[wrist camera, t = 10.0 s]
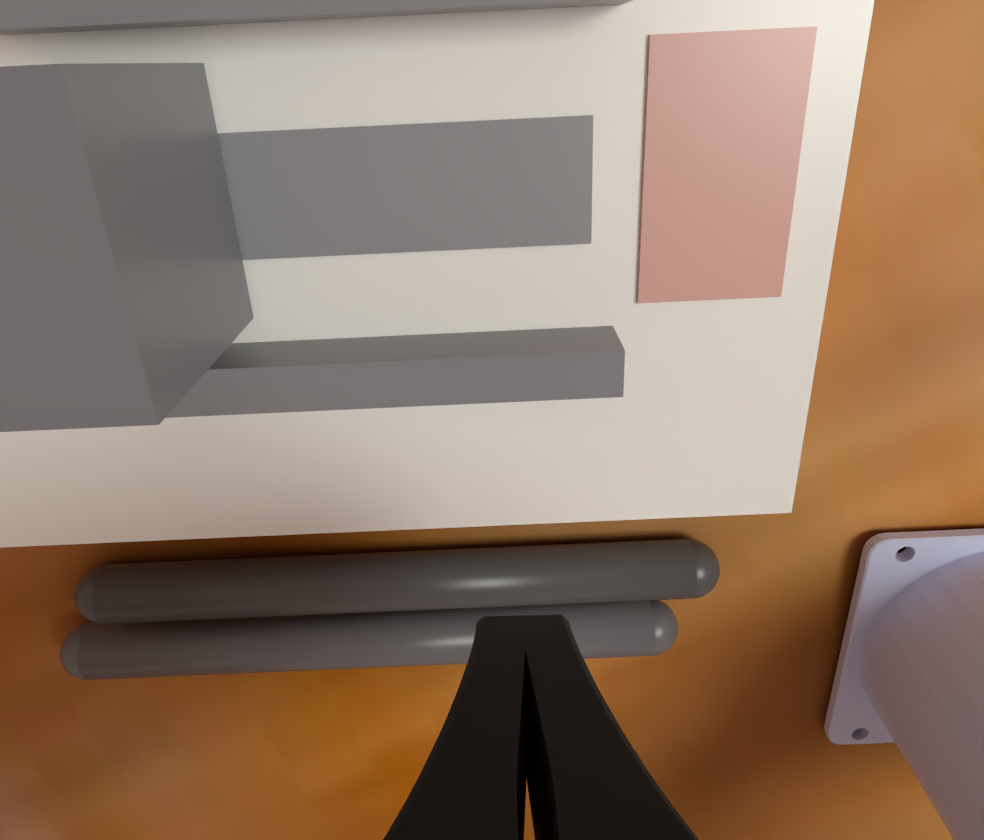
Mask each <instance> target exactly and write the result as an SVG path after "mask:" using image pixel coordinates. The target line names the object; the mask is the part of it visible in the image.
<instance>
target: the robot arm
mask: <svg viewBox="0 0 984 840" xmlns="http://www.w3.org/2000/svg"><path fill="white" fill-rule="evenodd" d="M903 547H906V549H905V550H904V551H902V552H900V553H897V551H898V550H899V549H901V548H903ZM824 731H825V733H826V735H827V737H828V739H829V740H830V741H831V742H832V743H834V744H840V745H847V744H872V743H896V745H897V747H898V748H899V750H900V752H901V753H902V755H903V757H904V758H905V760H906V762H907V763H908V765H909V767H910V768H911V770H912V772H913V773H914V775H915V776H916V778H917V780H918V781H919V783H920V785H921V786H922V788H923V790H924V791H925V793H926V795H927V796H928V798H929V800H930V801H931V803H932V804H933V806H934V808H935V809H936V811H937V813H938V814H939V816H940V818H941V819H942V821H943V823H944V824H945V826H946V828H947V829H948V831H949V833H950V834H951V836H952V837H953V839H954V840H984V528H983V529H960V530H937V531H914V532H892V533H881V534H877V535H875V536H873V537H871V538H870V539H869V540H868V541H867V542H866V543H865V545H864V547H863V550H862V555H861V559H860V564H859V569H858V573H857V578H856V582H855V587H854V591H853V596H852V601H851V605H850V610H849V614H848V619H847V624H846V628H845V633H844V637H843V642H842V646H841V651H840V656H839V660H838V665H837V669H836V674H835V678H834V683H833V688H832V692H831V697H830V701H829V706H828V710H827V715H826V720H825V724H824ZM526 777H527V784H528V792H529V799H530V806H531V813H532V821H533V828H534V835H535V840H698V838H697V837H696V836H695V835H694V833H693V832H692V831H691V829H690V828H689V827H688V825H687V824H686V823H685V822H684V820H683V819H682V818H681V816H680V815H679V814H678V812H677V811H676V810H675V808H674V807H673V806H672V804H671V803H670V802H669V800H668V799H667V797H666V796H665V795H664V793H663V792H662V790H661V789H660V788H659V786H658V785H657V783H656V782H655V780H654V779H653V778H652V776H651V775H650V773H649V772H648V770H647V769H646V767H645V766H644V764H643V763H642V761H641V759H640V758H639V756H638V755H637V753H636V752H635V750H634V749H633V747H632V746H631V744H630V742H629V741H628V739H627V738H626V736H625V734H624V733H623V731H622V730H621V728H620V726H619V724H618V723H617V721H616V719H615V717H614V716H613V714H612V712H611V710H610V709H609V707H608V705H607V703H606V702H605V700H604V698H603V697H602V695H601V693H600V691H599V689H598V687H597V685H596V683H595V682H594V680H593V678H592V676H591V673H590V671H589V669H588V667H587V665H586V663H585V661H584V659H583V657H582V655H581V652H580V650H579V648H578V646H577V643H576V641H575V638H574V636H573V633H572V630H571V627H570V624H569V621H568V620H567V619H566V618H565V617H564V616H563V615H518V616H484V617H482V618H481V619H480V620H479V621H478V622H477V623H476V631H475V636H474V641H473V645H472V649H471V653H470V656H469V659H468V663H467V666H466V669H465V672H464V675H463V678H462V680H461V683H460V686H459V689H458V691H457V694H456V696H455V699H454V701H453V704H452V706H451V708H450V711H449V713H448V716H447V718H446V721H445V723H444V726H443V728H442V730H441V732H440V734H439V736H438V739H437V741H436V743H435V745H434V747H433V749H432V751H431V753H430V755H429V757H428V759H427V761H426V763H425V766H424V768H423V770H422V772H421V774H420V776H419V778H418V780H417V781H416V783H415V785H414V787H413V789H412V791H411V793H410V795H409V796H408V798H407V800H406V802H405V804H404V805H403V807H402V809H401V811H400V812H399V814H398V816H397V818H396V819H395V821H394V823H393V824H392V826H391V828H390V829H389V831H388V833H387V835H386V836H385V838H384V839H383V840H524V820H525V797H526Z"/></svg>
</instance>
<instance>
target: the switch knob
mask: <svg viewBox="0 0 984 840" xmlns="http://www.w3.org/2000/svg"><path fill="white" fill-rule="evenodd" d="M253 318H254V317H253V312H252V307H251V302H250V297H249V292H248V286H247V281H246V276H245V271H244V266H243V261H242V256H241V251H240V246H239V240H238V235H237V230H236V225H235V220H234V215H233V210H232V205H231V200H230V194H229V189H228V184H227V179H226V174H225V169H224V164H223V159H222V154H221V148H220V143H219V138H218V133H217V128H216V123H215V118H214V113H213V108H212V103H211V97H210V92H209V87H208V82H207V77H206V72H205V67H204V63H94V64H44V65H24V66H4V67H0V432H13V431H35V430H57V429H79V428H101V427H123V426H145V425H159V424H160V423H161V422H162V421H163V420H164V419H165V418H166V416H167V415H168V414H169V413H170V412H171V411H172V410H173V409H174V407H175V406H176V405H177V404H178V403H179V402H180V401H181V400H182V398H183V397H184V396H185V395H186V394H187V393H188V392H189V391H190V389H191V388H192V387H193V386H194V385H195V384H196V383H197V381H198V380H199V379H200V378H201V377H202V376H203V375H204V374H205V372H206V371H207V370H208V369H209V368H210V367H211V366H212V365H213V363H214V362H215V361H216V360H217V359H218V358H219V357H220V356H221V354H222V353H223V352H224V351H225V350H226V349H227V348H228V347H229V345H230V344H231V343H232V342H233V341H234V340H235V339H236V338H237V336H238V335H239V334H240V333H241V332H242V331H243V330H244V329H245V327H246V326H247V325H248V324H249V323H250V322H251V321H252V319H253Z"/></svg>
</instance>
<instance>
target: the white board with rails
mask: <svg viewBox="0 0 984 840" xmlns="http://www.w3.org/2000/svg"><path fill="white" fill-rule="evenodd" d="M873 6H874V0H0V67H4V66H24V65H44V64H94V63H204V67H205V72H206V77H207V82H208V87H209V92H210V97H211V103H212V108H213V113H214V118H215V123H216V128H217V133H218V138H219V143H220V148H221V154H222V159H223V164H224V169H225V174H226V179H227V184H228V189H229V194H230V200H231V205H232V210H233V215H234V220H235V225H236V230H237V235H238V240H239V246H240V251H241V256H242V261H243V266H244V271H245V276H246V281H247V286H248V292H249V297H250V302H251V307H252V312H253V317H254V318H253V319H252V321H251V322H250V323H249V324H248V325H247V326H246V327H245V329H244V330H243V331H242V332H241V333H240V334H239V335H238V336H237V338H236V339H235V340H234V341H233V342H232V343H231V344H230V345H229V347H228V348H227V349H226V350H225V351H224V352H223V353H222V354H221V356H220V357H219V358H218V359H217V360H216V361H215V362H214V363H213V365H212V366H211V367H210V368H209V369H208V370H207V371H206V372H205V374H204V375H203V376H202V377H201V378H200V379H199V380H198V381H197V383H196V384H195V385H194V386H193V387H192V388H191V389H190V391H189V392H188V393H187V394H186V395H185V396H184V397H183V398H182V400H181V401H180V402H179V403H178V404H177V405H176V406H175V407H174V409H173V410H172V411H171V412H170V413H169V414H168V415H167V416H166V418H165V419H164V420H163V421H162V422H161V423H160V424H159V425H145V426H123V427H101V428H79V429H57V430H35V431H13V432H0V548H1V547H24V546H47V545H70V544H92V543H115V542H138V541H160V540H183V539H206V538H228V537H251V536H274V535H296V534H319V533H342V532H364V531H387V530H410V529H432V528H455V527H478V526H501V525H523V524H546V523H569V522H591V521H614V520H637V519H659V518H682V517H705V516H727V515H750V514H773V513H791V512H792V506H793V500H794V494H795V488H796V481H797V475H798V469H799V463H800V457H801V451H802V444H803V438H804V432H805V426H806V420H807V413H808V407H809V401H810V395H811V389H812V383H813V376H814V370H815V364H816V358H817V352H818V346H819V339H820V333H821V327H822V321H823V315H824V308H825V302H826V296H827V290H828V284H829V278H830V271H831V265H832V259H833V253H834V247H835V240H836V234H837V228H838V222H839V216H840V210H841V203H842V197H843V191H844V185H845V179H846V172H847V166H848V160H849V154H850V148H851V142H852V135H853V129H854V123H855V117H856V111H857V105H858V98H859V92H860V86H861V80H862V74H863V67H864V61H865V55H866V49H867V43H868V37H869V30H870V24H871V18H872V12H873ZM719 574H720V567H719V562H718V559H717V557H716V555H715V553H714V552H713V551H712V550H711V548H710V547H708V546H707V545H706V544H704V543H702V542H700V541H698V540H694V539H672V540H649V541H626V542H603V543H580V544H558V545H535V546H512V547H489V548H466V549H444V550H421V551H398V552H375V553H352V554H330V555H307V556H284V557H261V558H238V559H216V560H193V561H170V562H147V563H124V564H107V565H101V566H98V567H96V568H94V569H92V570H90V571H89V572H87V573H86V574H85V575H84V576H83V577H82V578H81V580H80V581H79V583H78V585H77V587H76V590H75V604H76V607H77V609H78V611H79V612H80V614H81V615H82V616H83V617H85V618H86V619H88V620H89V621H92V622H88V623H85V624H82V625H80V626H78V627H77V628H75V629H74V630H72V631H71V632H70V633H69V634H68V636H67V637H66V638H65V640H64V642H63V644H62V647H61V652H60V658H61V662H62V665H63V667H64V669H65V670H66V671H67V672H68V673H69V674H71V675H72V676H74V677H76V678H79V679H85V680H95V679H118V678H141V677H165V676H188V675H212V674H235V673H259V672H282V671H306V670H329V669H353V668H376V667H400V666H423V665H447V664H467V663H468V659H469V656H470V653H471V649H472V645H473V641H474V636H475V631H476V623H477V622H478V621H479V620H480V619H481V618H482V617H484V616H518V615H563V616H564V617H565V618H566V619H567V620H568V621H569V624H570V627H571V630H572V633H573V636H574V638H575V641H576V643H577V646H578V648H579V650H580V652H581V655H582V657H583V659H588V658H611V657H635V656H654V655H659V654H661V653H663V652H665V651H667V650H668V649H669V648H670V647H671V646H672V645H673V643H674V642H675V639H676V637H677V632H678V624H677V620H676V617H675V615H674V613H673V611H672V610H671V609H670V608H669V607H668V606H667V605H666V604H665V603H664V602H662V601H660V600H667V599H690V598H699V597H701V596H704V595H706V594H707V593H709V592H710V591H711V590H712V589H713V588H714V586H715V585H716V583H717V581H718V578H719Z"/></svg>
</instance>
